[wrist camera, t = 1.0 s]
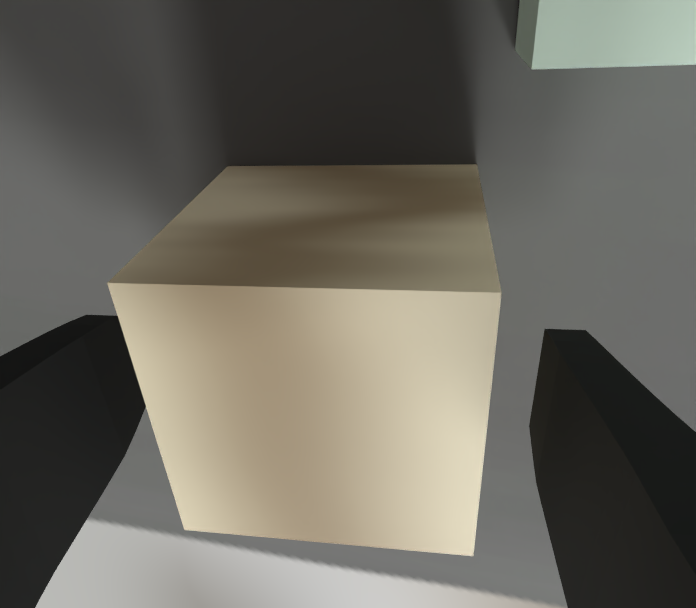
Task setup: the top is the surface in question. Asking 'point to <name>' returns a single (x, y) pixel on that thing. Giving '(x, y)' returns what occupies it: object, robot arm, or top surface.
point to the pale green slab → (606, 33)
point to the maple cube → (321, 353)
